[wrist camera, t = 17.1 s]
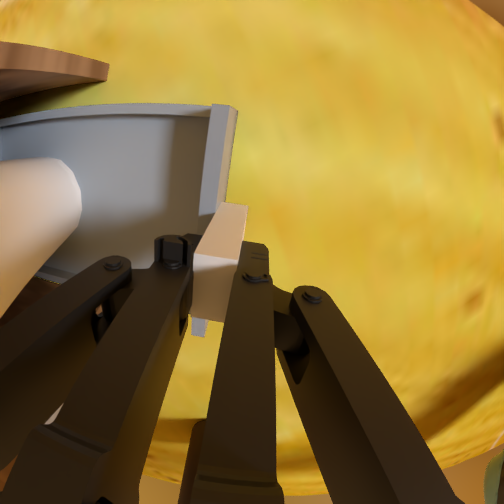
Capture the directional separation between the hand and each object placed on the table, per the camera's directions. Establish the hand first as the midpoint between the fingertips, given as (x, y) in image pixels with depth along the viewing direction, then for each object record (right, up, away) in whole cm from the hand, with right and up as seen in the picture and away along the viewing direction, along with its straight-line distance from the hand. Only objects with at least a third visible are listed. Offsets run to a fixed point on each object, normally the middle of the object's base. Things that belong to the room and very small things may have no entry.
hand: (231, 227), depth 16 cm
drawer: (-11, +2, +2) cm, 11 cm away
